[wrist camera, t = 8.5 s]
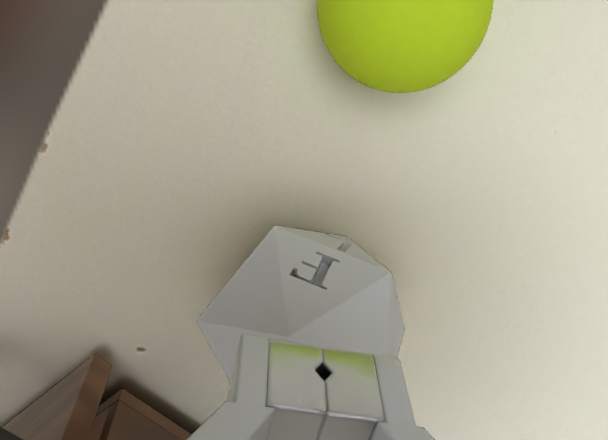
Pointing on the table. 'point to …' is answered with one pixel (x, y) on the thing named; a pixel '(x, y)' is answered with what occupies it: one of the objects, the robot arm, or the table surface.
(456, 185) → the table surface
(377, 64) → the ball
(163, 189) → the table surface
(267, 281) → the die
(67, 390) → the drawer
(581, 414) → the table surface
